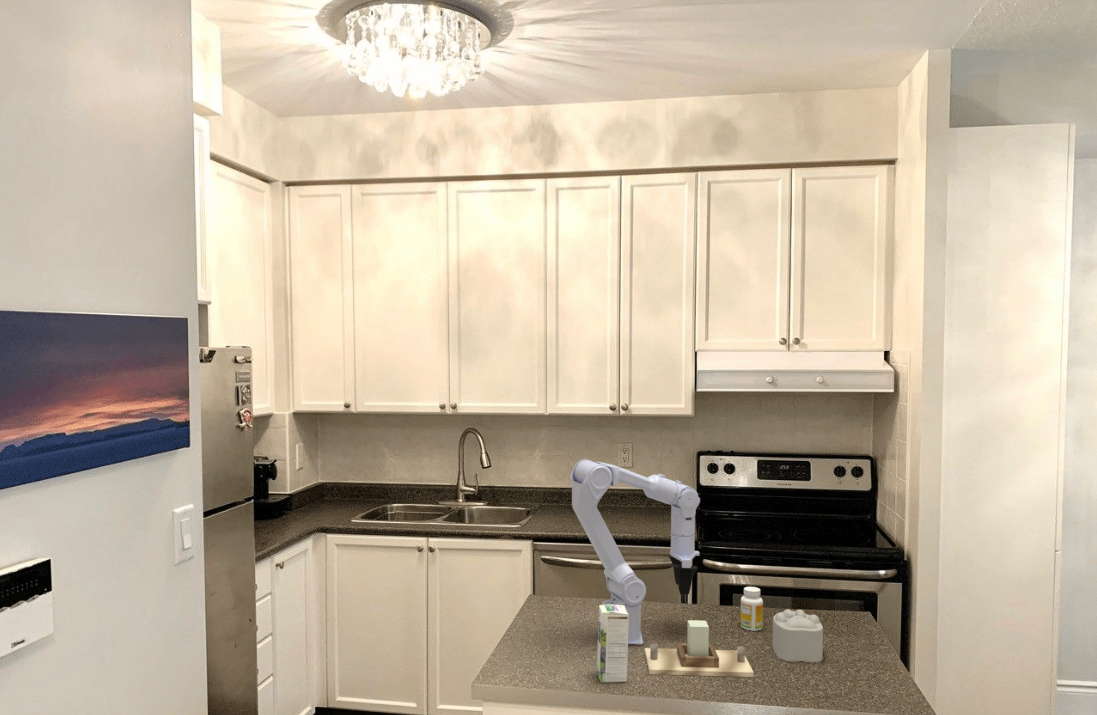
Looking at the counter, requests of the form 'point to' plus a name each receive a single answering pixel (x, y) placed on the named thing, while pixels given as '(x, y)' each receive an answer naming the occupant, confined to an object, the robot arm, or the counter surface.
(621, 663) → the syrup box
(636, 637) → the robot arm
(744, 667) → the socket plate
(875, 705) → the counter surface
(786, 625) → the lumpy-topped squat cylinder
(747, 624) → the supplement bottle
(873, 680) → the counter surface
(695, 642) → the sage peg
